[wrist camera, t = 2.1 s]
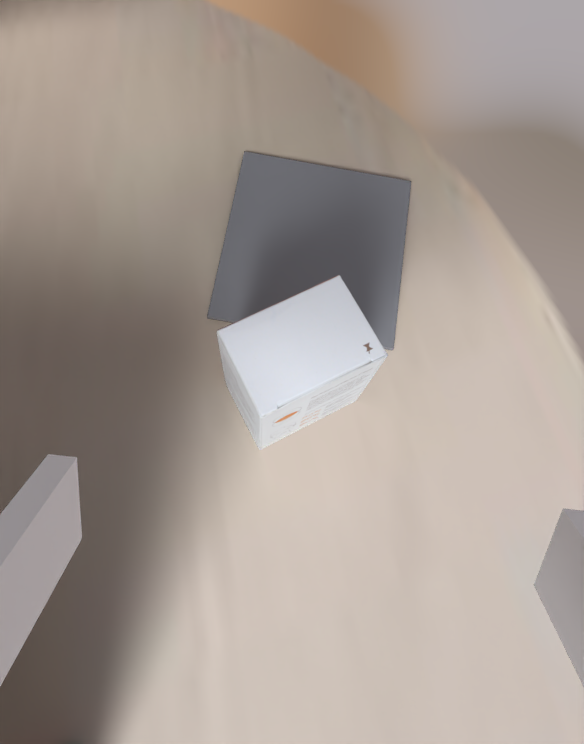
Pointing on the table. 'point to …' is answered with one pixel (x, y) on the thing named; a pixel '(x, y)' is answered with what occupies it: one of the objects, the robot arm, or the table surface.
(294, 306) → the small box
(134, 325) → the table surface
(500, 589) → the table surface
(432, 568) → the table surface
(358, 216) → the mat
